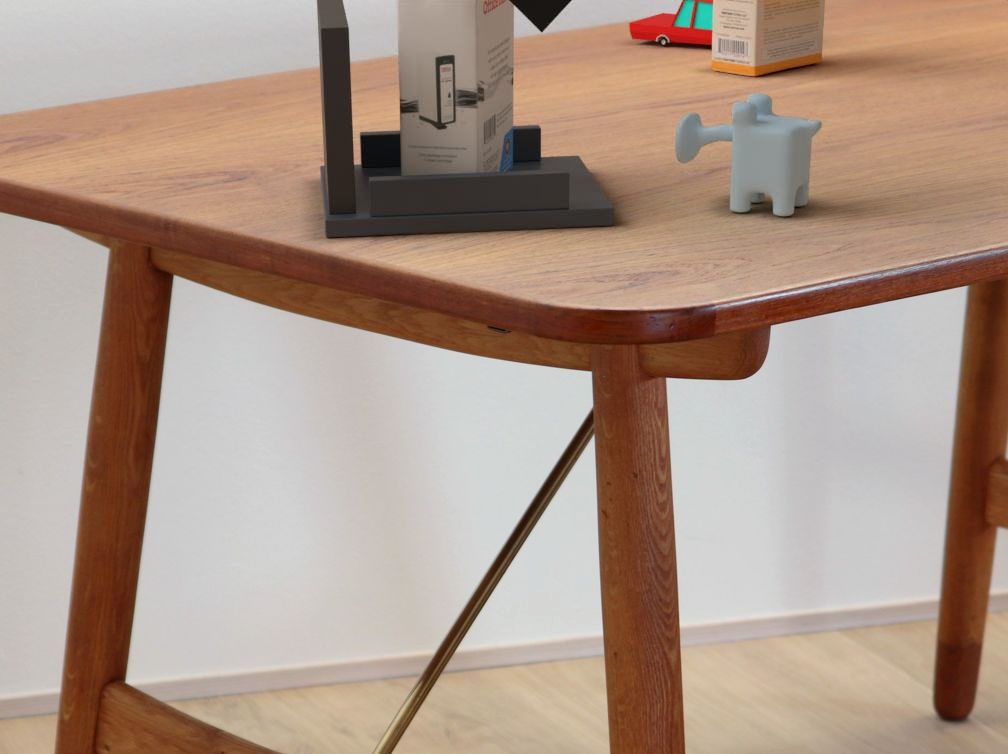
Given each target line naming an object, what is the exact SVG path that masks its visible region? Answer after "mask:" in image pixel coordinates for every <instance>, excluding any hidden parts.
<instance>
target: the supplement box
mask: <svg viewBox="0 0 1008 754" xmlns="http://www.w3.org/2000/svg"><path fill="white" fill-rule="evenodd" d="M825 6H826V0H713V32H712V45H711V69H712V71H715V72H719V73H720V72H721V73H727V74H732V75H733V74H734V75H740V76H748V77H758V76H762V75H766V74H770V73H774V72H779V71H783V70H788V69H794V68H798V67H802V66H809V65H814V64H818V63H821V62H822V61H823V44H824V25H825V23H824V22H825Z"/></svg>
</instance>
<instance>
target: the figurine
mask: <svg viewBox="0 0 1008 754" xmlns="http://www.w3.org/2000/svg"><path fill="white" fill-rule="evenodd" d="M730 113H731V117H732V119H731V120H732V124H729V123H722V124H718V125H713V126H705V125H704V124H703V123H702V119H701V116H700V115H699V114H698V113H697V112H690V113H688V114H686V115H684V116H682V118H681V119H679V121H678V122H677V123H678V124H677V126H676V130H675V140H674V141H675V142H674V147H675V148H674V149H675V157H676V159H677V161H678V162H679V163H681V164H687V163H690V162H691V161H693V160H694V159H696V158H697V156H698V155H699V154H700V153H699V152H700V151H701V149H702V148H703V147H705V146H707V145H710V144H713V143H717V142H732V143H731V164H730V165H731V167H730V192H729V210H730V211H731V212H734V213H747V212H749V211H750V210H751V207H752V203H762V202H764V201H765V199H766V195H767V196H769V197H770V198H771V200H772V213H773V215H775V216H778V217H789V216H792V215H793V214H794V213H795V207H804V206H806V205H808V203H809V190H810V175H811V159H812V140H813V137H815V136H816V135H817V133H819V132H820V130H821V129H822V127H823V122H822V121H821V120H818V119H813V120H811V119H810V120H809V119H808V118H804V117H800V116H799V117H798V116H797V117H796V116H786V115H785V116H784V115H778V114H775V113H774V112H773V99H772V97H771V96H770V95H768V94H765V93H761V92H756V93H755V92H754V93H751V94H749V95H748V98H747V100H738V101H736V102H734V103H733V105H732V108H731V112H730Z"/></svg>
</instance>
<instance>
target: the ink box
mask: <svg viewBox="0 0 1008 754" xmlns="http://www.w3.org/2000/svg"><path fill="white" fill-rule="evenodd" d="M396 26H397V53H398V55H397V56H398V85H399V86H398V88H399V130H400V143H401V176H408V175H432V174H457V173H482V172H506V171H510V170H511V169H512V168H513V126H514V66H515V65H514V62H515V55H514V53H515V52H514V51H515V46H514V45H515V6H514V5H513V4H512V3H511V2H510V1H509V0H396Z"/></svg>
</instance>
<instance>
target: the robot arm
mask: <svg viewBox="0 0 1008 754" xmlns="http://www.w3.org/2000/svg"><path fill="white" fill-rule="evenodd" d="M509 1H510V2H511V3H512V4H513V5H514V8H516V9H517V10H518V11H519V12H520V13H521V14H522V15H523V16H524V17H525V18H526V19H527V20H528V21H530V23H531V24H532V25H533V26H534V27H535V28H536V29H537V30H538V31H539V32H540V33H543V32H544V31H545V30H546V29H547V28H548V27H549V26H550V24H552V22H554V21H555V19H556V18H557V17H558V16H559V15H560V14H561V13H562V12H563V10H564V9H565V8H566V7H567V6H568V5H569V4H570V3H571V2H572V1H573V0H509Z"/></svg>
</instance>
